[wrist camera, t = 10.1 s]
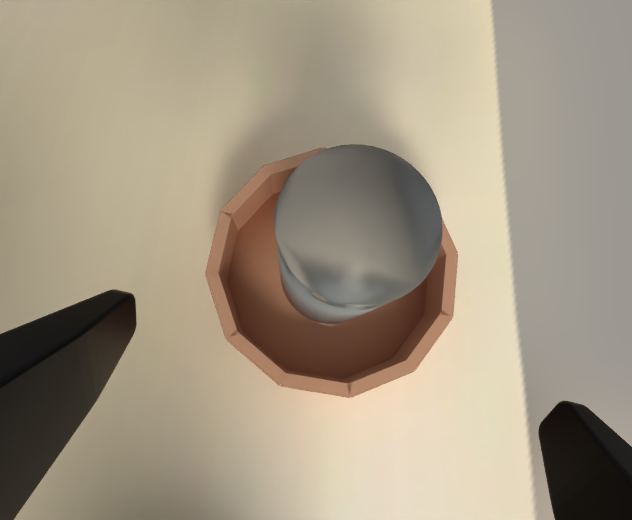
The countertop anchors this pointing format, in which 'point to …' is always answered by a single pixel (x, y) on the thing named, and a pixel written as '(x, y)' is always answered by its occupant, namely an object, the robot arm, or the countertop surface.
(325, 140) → the countertop surface
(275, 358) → the terracotta bowl
